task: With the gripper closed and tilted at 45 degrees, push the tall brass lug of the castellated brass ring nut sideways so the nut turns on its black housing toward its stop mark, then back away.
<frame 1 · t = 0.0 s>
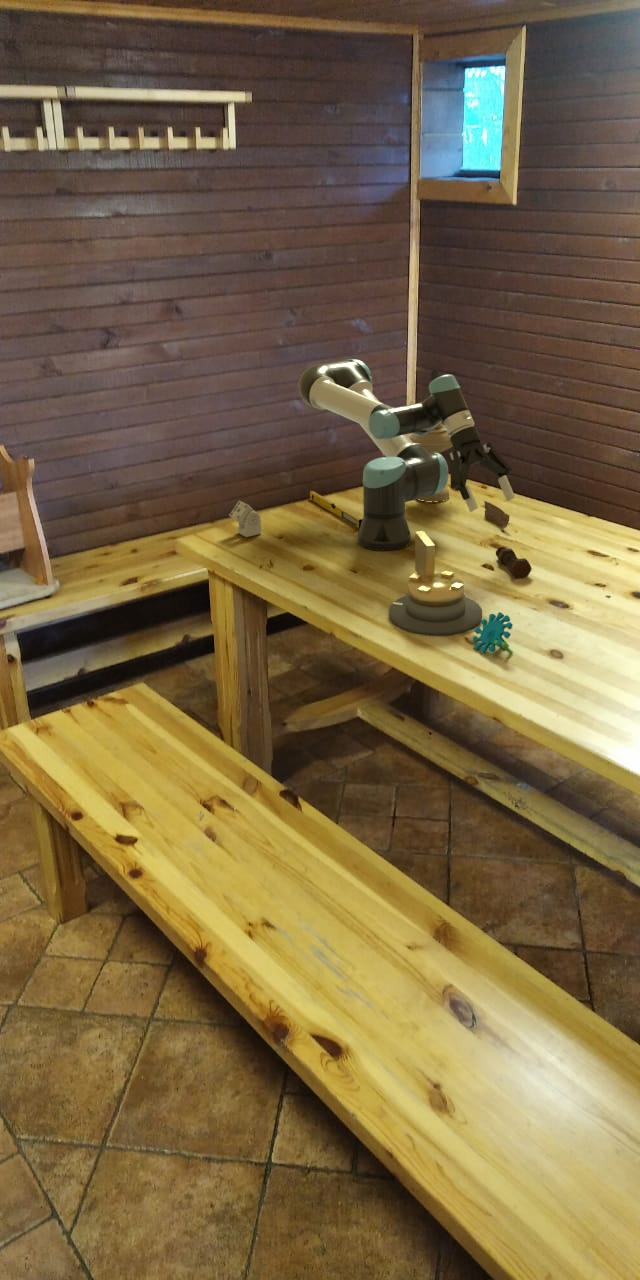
hand: (493, 504, 258), 15 cm above the table, tool tilted 35°, fingers open, 13 cm apart
spirit level: (335, 514, 304), on the table
oil lamp: (431, 497, 315), on the table
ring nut: (431, 567, 232), point 11 cm above the table, hinge at 0.0°
mechanical component: (246, 535, 288), on the table
bolt: (511, 569, 259), on the table
wood plank: (494, 524, 291), on the table
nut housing: (435, 615, 233), on the table
teal spiky piece: (492, 649, 216), on the table
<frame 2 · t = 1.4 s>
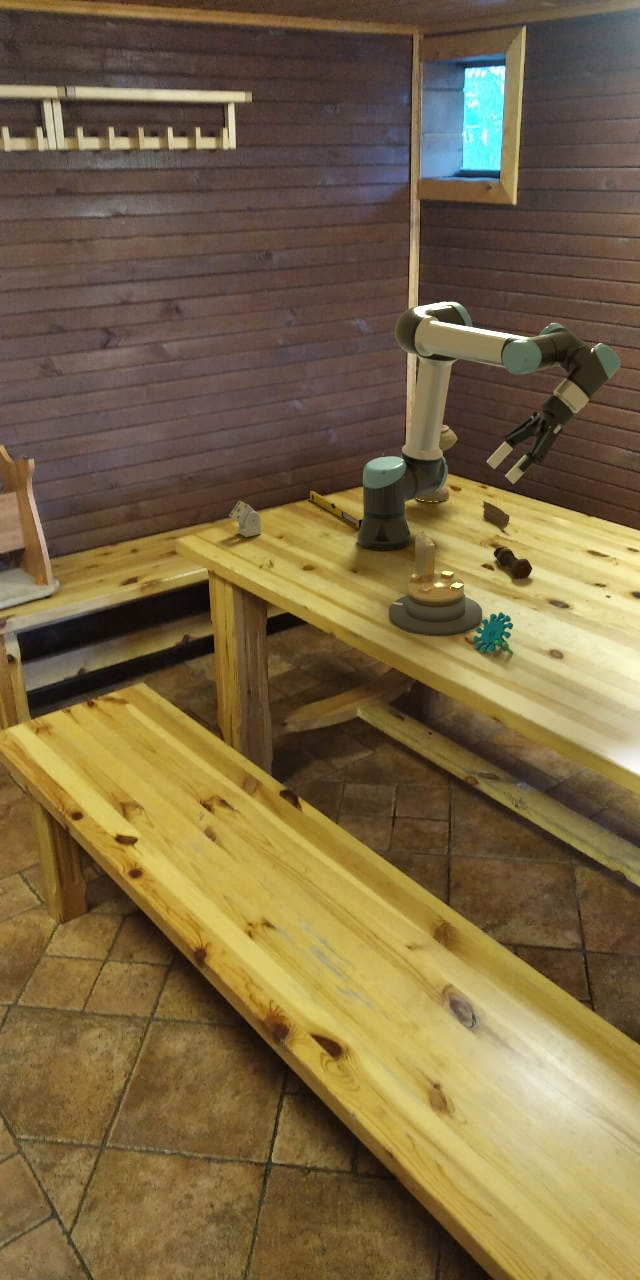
hand: (499, 472, 232), 30 cm above the table, tool tilted 45°, fingers open, 13 cm apart
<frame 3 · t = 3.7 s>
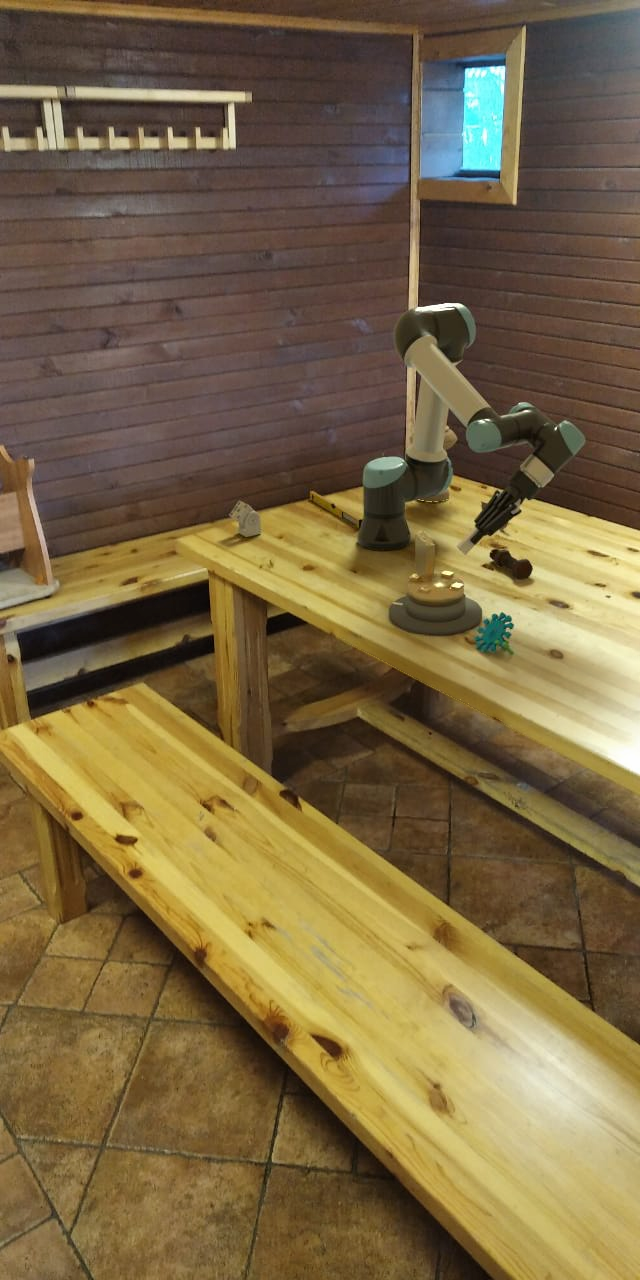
hand: (460, 550, 238), 12 cm above the table, tool tilted 45°, fingers closed
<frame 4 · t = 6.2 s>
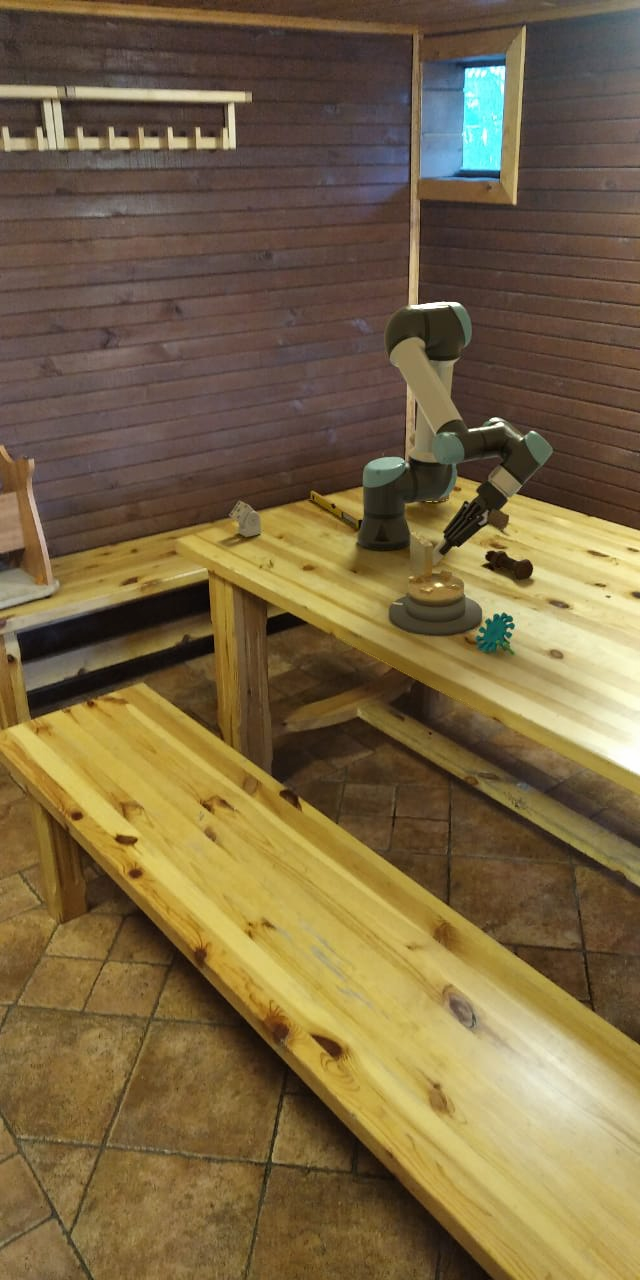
hand: (429, 561, 238), 10 cm above the table, tool tilted 45°, fingers closed
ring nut: (429, 567, 232), point 11 cm above the table, hinge at 5.2°, touching gripper
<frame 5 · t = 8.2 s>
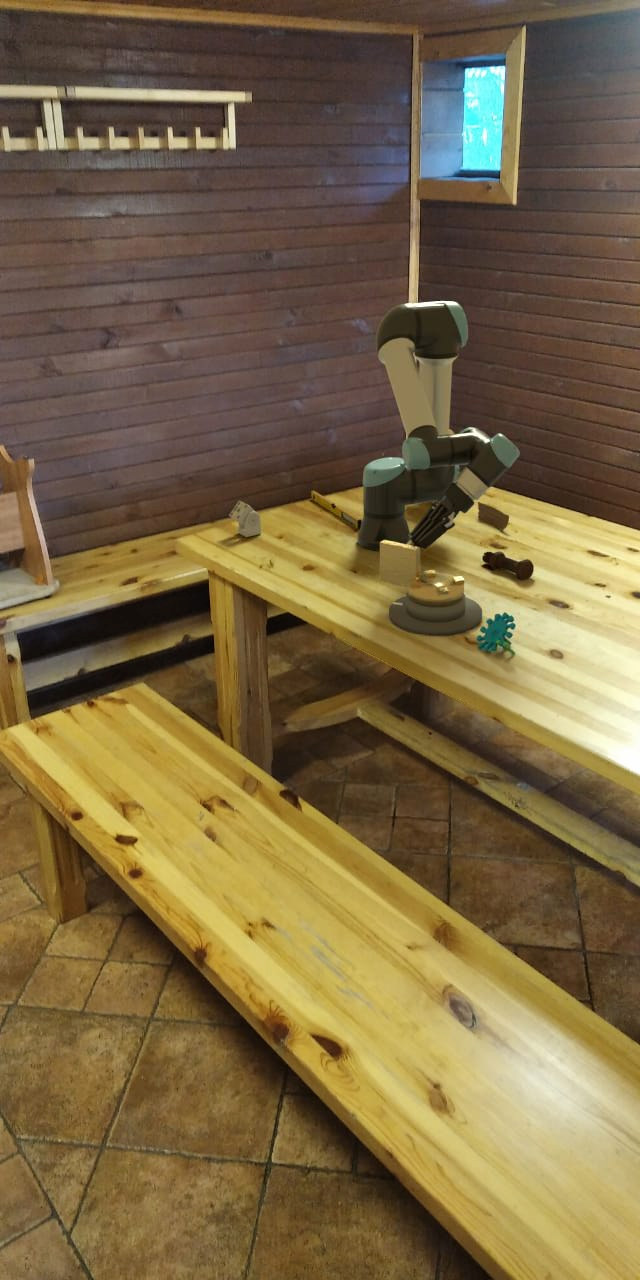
hand: (396, 563, 237), 10 cm above the table, tool tilted 45°, fingers closed
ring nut: (420, 570, 230), point 11 cm above the table, hinge at 43.9°, touching gripper
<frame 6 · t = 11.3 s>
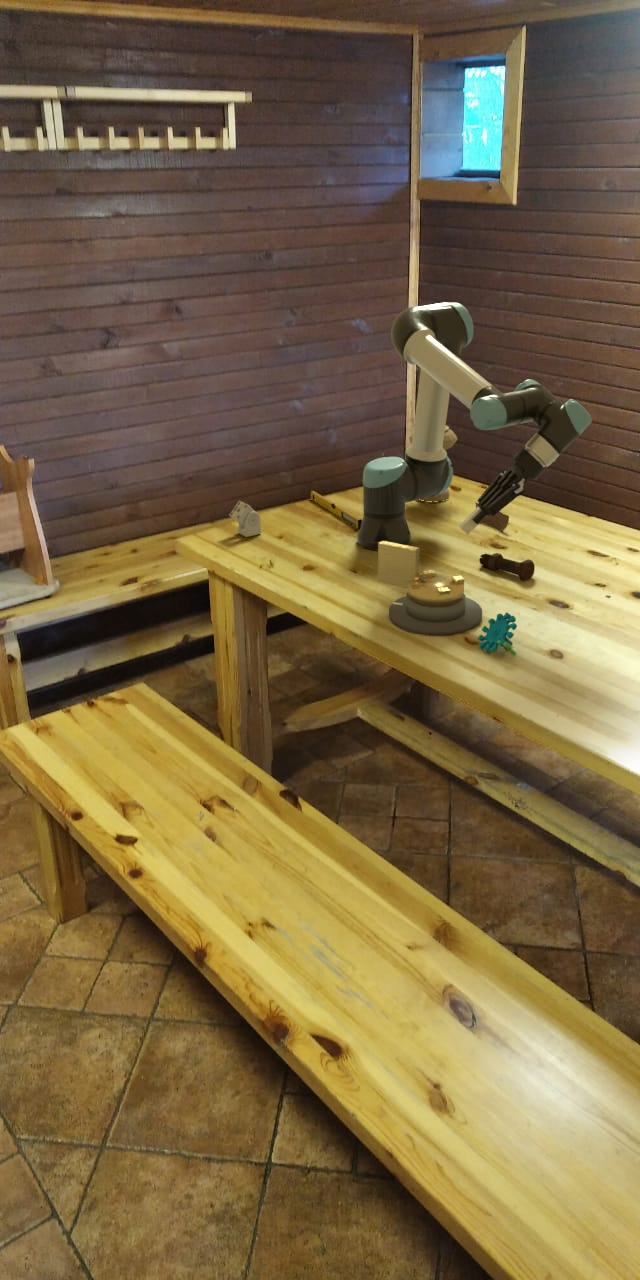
hand: (463, 530, 235), 17 cm above the table, tool tilted 45°, fingers closed
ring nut: (420, 571, 230), point 11 cm above the table, hinge at 46.9°
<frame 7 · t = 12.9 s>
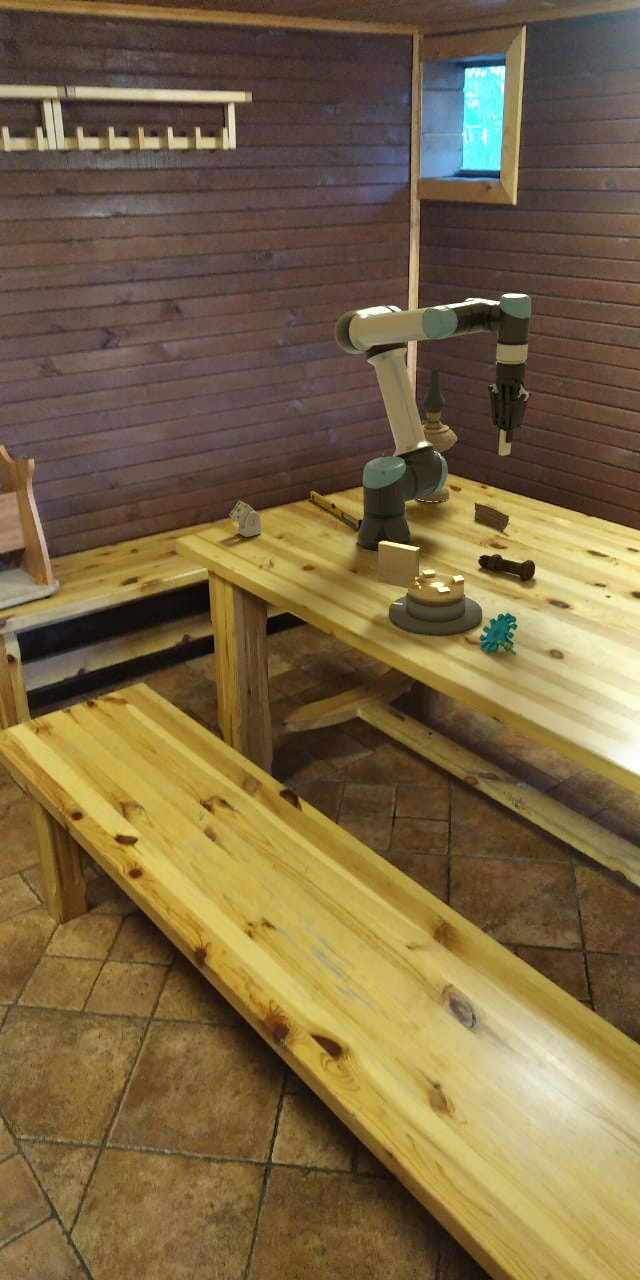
hand: (504, 454, 252), 29 cm above the table, tool pointing down, fingers closed
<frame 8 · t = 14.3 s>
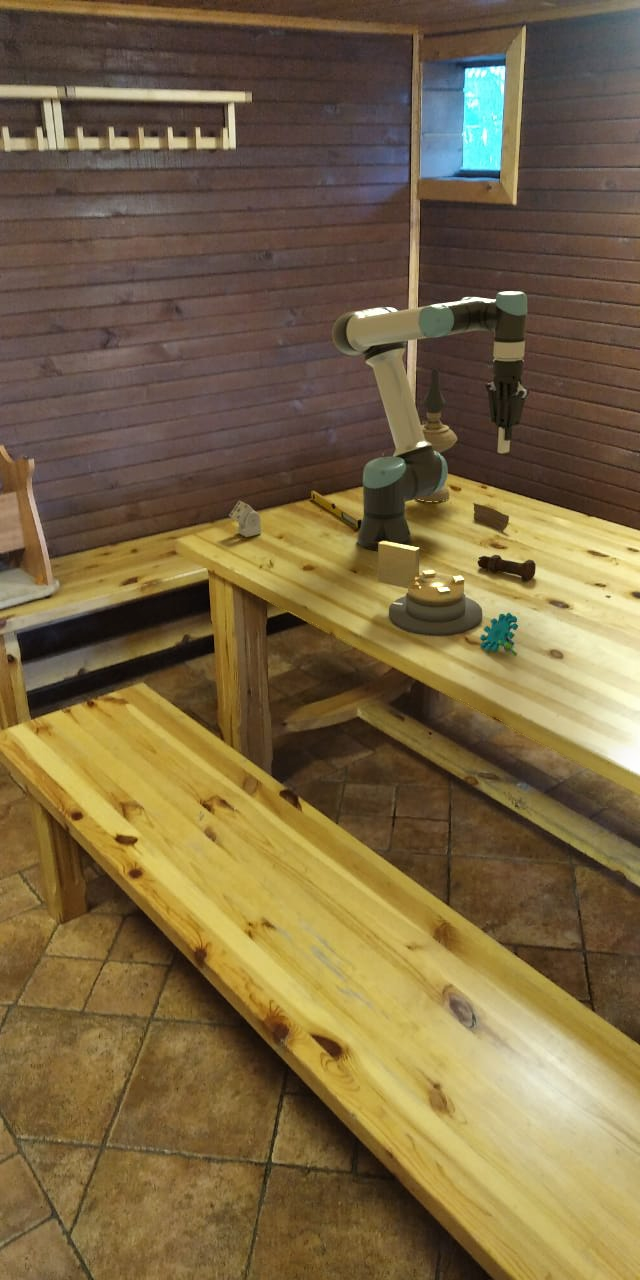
hand: (503, 452, 252), 29 cm above the table, tool pointing down, fingers closed
at the end: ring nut at +47° (first picture: +0°) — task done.
